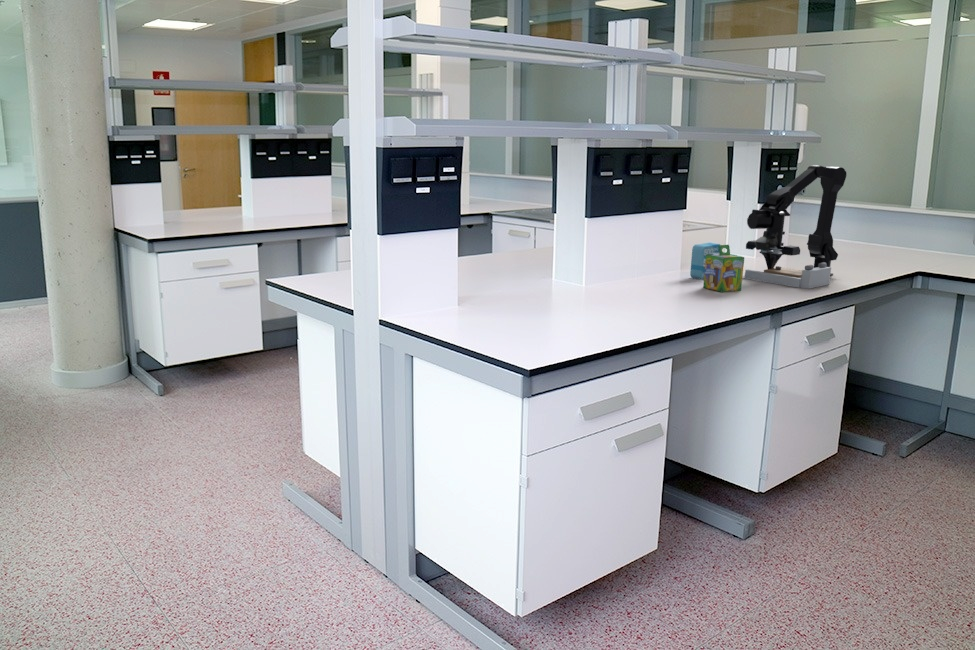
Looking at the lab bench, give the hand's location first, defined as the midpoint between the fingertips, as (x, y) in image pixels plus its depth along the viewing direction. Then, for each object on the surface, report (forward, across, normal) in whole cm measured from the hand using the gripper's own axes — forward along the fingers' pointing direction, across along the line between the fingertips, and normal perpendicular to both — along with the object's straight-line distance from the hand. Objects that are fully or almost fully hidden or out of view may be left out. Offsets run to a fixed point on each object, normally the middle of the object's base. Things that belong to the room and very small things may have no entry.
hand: (769, 271), depth 288 cm
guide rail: (+2, +6, -8) cm, 11 cm away
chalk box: (+3, +3, -34) cm, 34 cm away
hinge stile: (+2, +18, -1) cm, 18 cm away
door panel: (+3, +8, 0) cm, 8 cm away
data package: (+3, -14, -20) cm, 24 cm away
